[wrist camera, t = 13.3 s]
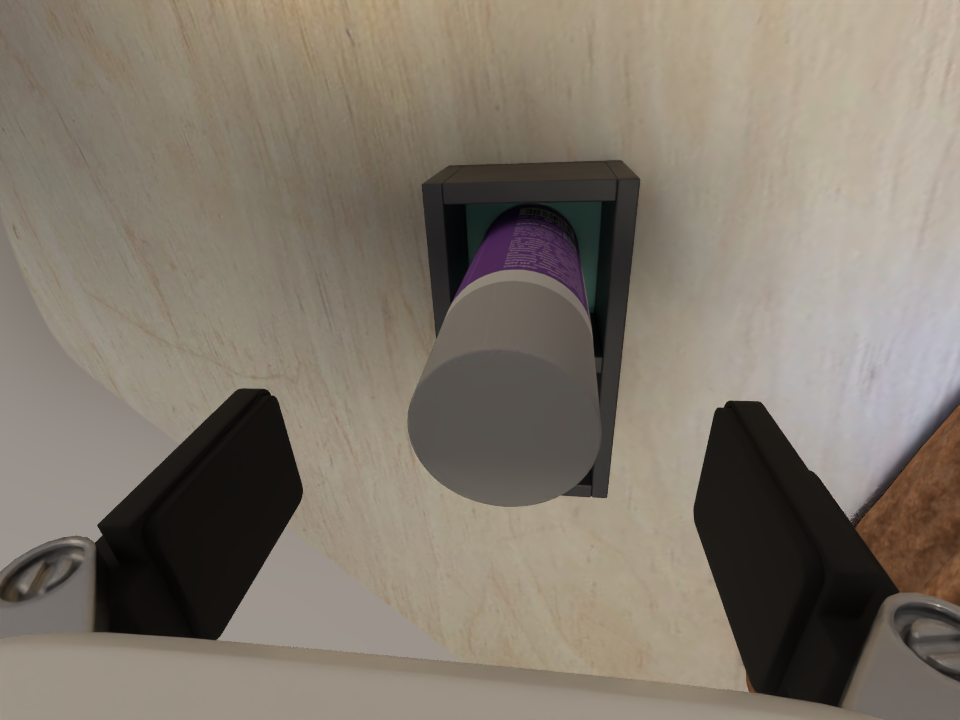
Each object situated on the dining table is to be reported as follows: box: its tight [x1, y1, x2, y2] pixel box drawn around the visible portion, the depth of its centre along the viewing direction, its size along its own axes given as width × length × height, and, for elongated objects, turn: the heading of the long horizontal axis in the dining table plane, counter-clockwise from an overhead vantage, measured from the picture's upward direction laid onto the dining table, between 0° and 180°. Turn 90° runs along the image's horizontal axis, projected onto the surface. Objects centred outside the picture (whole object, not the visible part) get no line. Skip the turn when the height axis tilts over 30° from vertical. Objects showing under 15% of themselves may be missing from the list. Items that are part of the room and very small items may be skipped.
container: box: [408, 203, 602, 507], centre depth 18 cm, size 5×5×15 cm
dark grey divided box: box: [422, 160, 640, 498], centre depth 24 cm, size 8×15×6 cm, turn 2°
